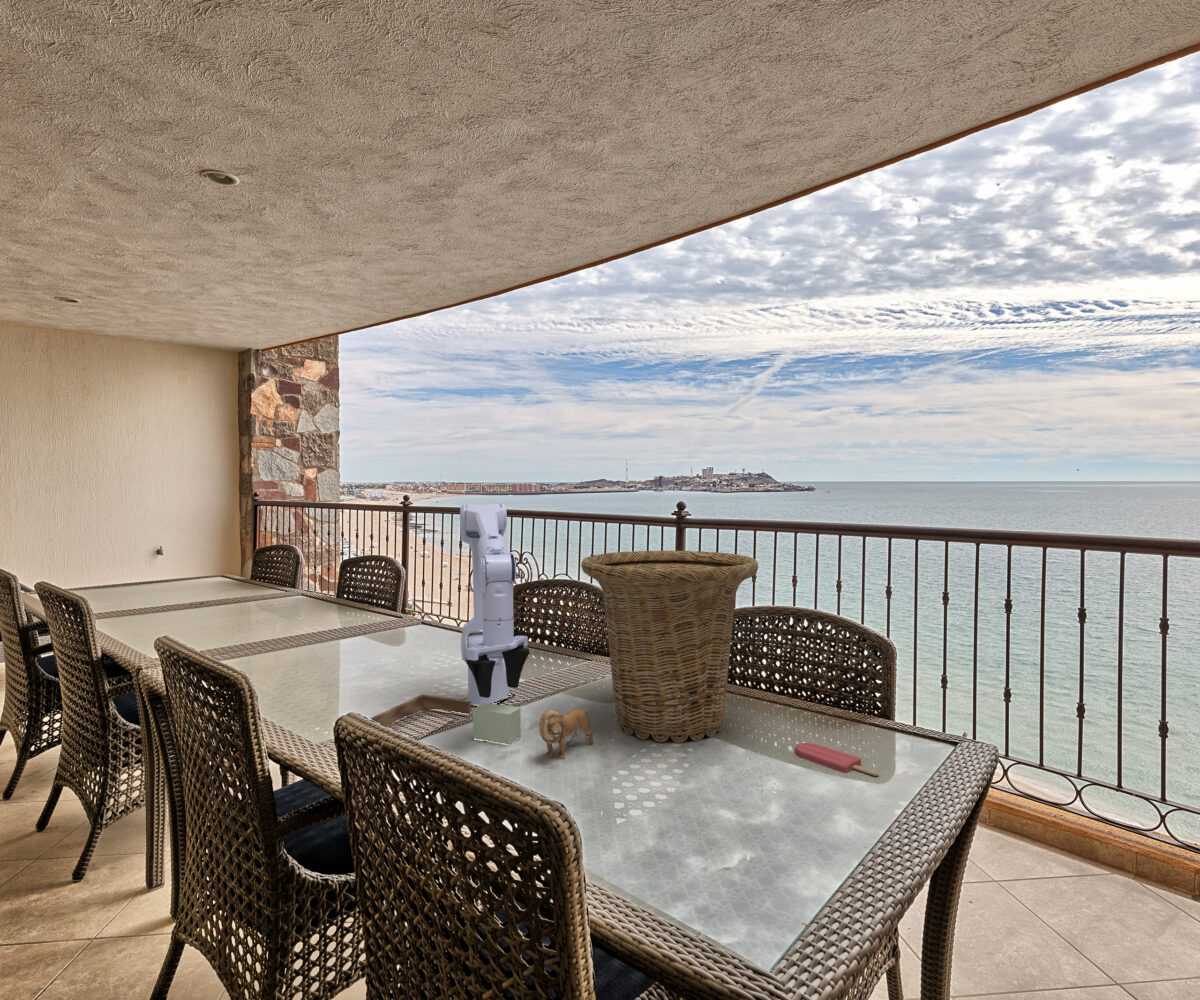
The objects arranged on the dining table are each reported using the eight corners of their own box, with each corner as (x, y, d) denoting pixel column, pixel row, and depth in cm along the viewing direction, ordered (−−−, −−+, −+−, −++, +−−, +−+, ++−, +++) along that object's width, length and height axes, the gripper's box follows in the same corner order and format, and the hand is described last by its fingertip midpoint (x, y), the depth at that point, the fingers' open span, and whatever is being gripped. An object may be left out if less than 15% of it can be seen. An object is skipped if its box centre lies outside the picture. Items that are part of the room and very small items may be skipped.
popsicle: (870, 774, 106) (788, 747, 118) (870, 784, 106) (788, 756, 118) (885, 765, 110) (805, 739, 121) (885, 774, 110) (805, 748, 121)
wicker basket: (761, 702, 145) (761, 551, 145) (754, 768, 112) (754, 571, 111) (607, 690, 155) (606, 549, 154) (558, 747, 121) (557, 566, 121)
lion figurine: (557, 769, 112) (557, 716, 112) (531, 763, 115) (531, 711, 114) (599, 740, 125) (599, 692, 125) (575, 735, 127) (575, 688, 127)
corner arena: (422, 708, 144) (421, 694, 144) (471, 715, 139) (471, 701, 139) (370, 733, 129) (370, 718, 129) (423, 742, 124) (423, 726, 124)
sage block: (484, 733, 129) (484, 702, 129) (520, 739, 126) (520, 707, 126) (473, 740, 125) (472, 709, 125) (510, 746, 122) (509, 714, 122)
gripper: (486, 626, 115) (487, 704, 115) (539, 614, 127) (540, 685, 127) (457, 623, 119) (458, 698, 119) (511, 612, 131) (512, 680, 131)
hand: (499, 691), depth 123 cm, fingers open, 7 cm apart
